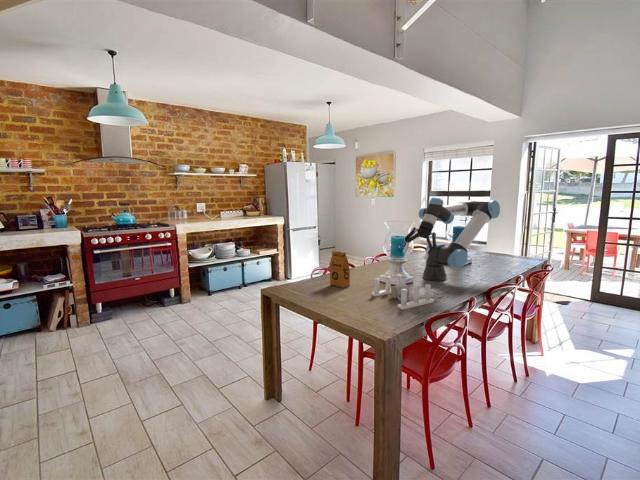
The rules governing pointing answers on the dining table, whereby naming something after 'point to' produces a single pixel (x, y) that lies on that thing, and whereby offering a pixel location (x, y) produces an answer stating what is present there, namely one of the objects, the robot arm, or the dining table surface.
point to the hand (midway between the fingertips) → (414, 256)
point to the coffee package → (339, 270)
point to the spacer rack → (404, 293)
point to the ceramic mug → (399, 291)
